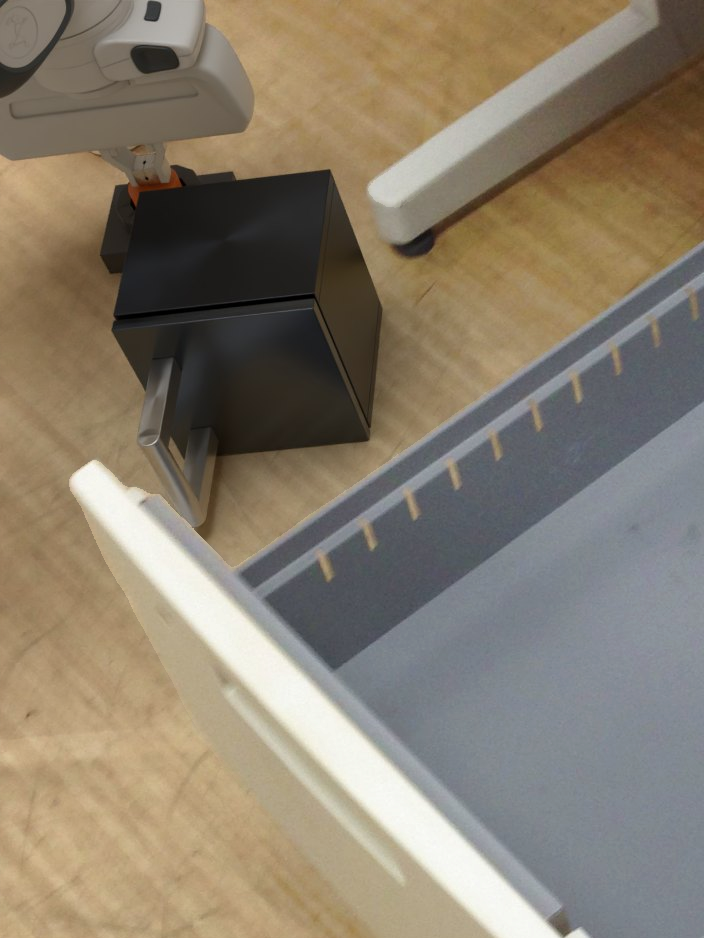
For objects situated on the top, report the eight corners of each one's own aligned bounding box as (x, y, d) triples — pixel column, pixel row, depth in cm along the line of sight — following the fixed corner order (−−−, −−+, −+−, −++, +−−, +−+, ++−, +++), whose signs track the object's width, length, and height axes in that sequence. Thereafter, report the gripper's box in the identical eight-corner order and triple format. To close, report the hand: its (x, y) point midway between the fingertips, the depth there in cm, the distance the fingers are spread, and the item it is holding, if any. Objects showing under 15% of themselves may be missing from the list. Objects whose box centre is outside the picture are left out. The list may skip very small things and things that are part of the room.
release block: (110, 274, 144) (90, 238, 141) (125, 204, 148) (106, 168, 145) (230, 261, 143) (213, 224, 139) (241, 191, 147) (225, 153, 144)
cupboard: (371, 428, 131) (314, 293, 119) (186, 447, 132) (112, 315, 121) (383, 308, 137) (330, 168, 126) (206, 327, 139) (138, 191, 127)
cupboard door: (360, 527, 126) (301, 398, 114) (168, 545, 127) (91, 420, 116) (370, 430, 131) (314, 297, 119) (185, 449, 132) (112, 319, 121)
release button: (132, 219, 142) (124, 203, 140) (140, 184, 144) (131, 168, 143) (181, 214, 141) (173, 197, 140) (188, 179, 144) (180, 162, 142)
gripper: (-64, 81, 129) (19, 223, 140) (209, 45, 127) (272, 193, 138) (-46, 24, 133) (34, 167, 144) (221, -12, 130) (280, 137, 141)
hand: (152, 179), depth 141 cm, fingers closed
